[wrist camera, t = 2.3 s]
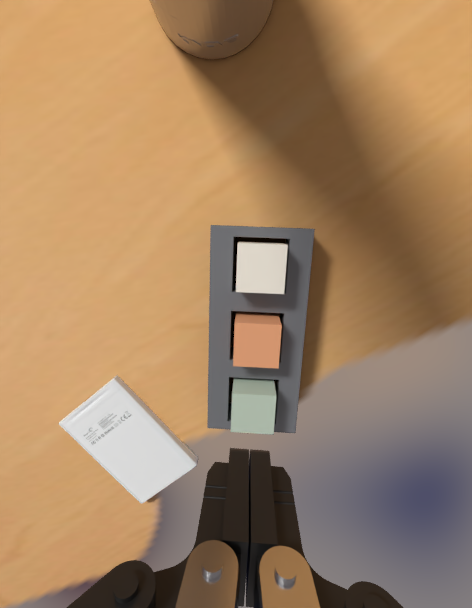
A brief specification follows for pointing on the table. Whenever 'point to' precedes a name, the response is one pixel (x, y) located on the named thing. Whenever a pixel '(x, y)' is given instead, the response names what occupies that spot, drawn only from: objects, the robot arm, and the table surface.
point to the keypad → (286, 304)
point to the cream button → (261, 267)
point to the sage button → (253, 406)
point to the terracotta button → (257, 339)
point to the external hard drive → (129, 440)
